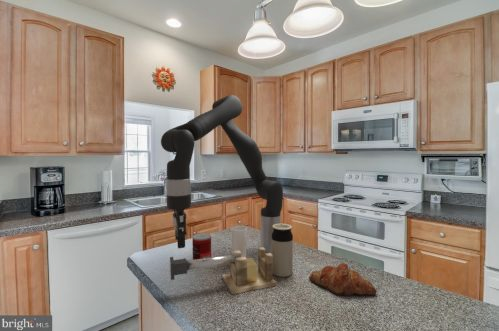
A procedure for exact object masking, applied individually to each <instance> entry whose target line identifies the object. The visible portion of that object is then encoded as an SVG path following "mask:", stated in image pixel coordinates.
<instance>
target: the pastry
mask: <svg viewBox="0 0 499 331" xmlns="http://www.w3.org/2000/svg"><path fill="white" fill-rule="evenodd" d="M308 279H309V281H311V282H312V283H314V284H316V285H319V286H320V287H322V288H325V289H327V290H329V291H331V292H332V293H334V294H336V295H338V296H354V295H357V296H375V295H376V294H377V289H376V288H375V287H374V285H373V284H372V282H371V281H370V280H368V279H366V278H363V277H362V276H361V274H360V273H359V272H358V271H356V270H352V269H350V268H349V266H348V264H347V263H344V262H341V263H339V264H338V266H332V265H326V266H324V267H323V268H322V269H319V270H313V271H312V272H311V273H310V275H309V276H308Z"/></svg>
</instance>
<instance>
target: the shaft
mask: <svg viewBox="0 0 499 331" xmlns="http://www.w3.org/2000/svg"><path fill="white" fill-rule="evenodd" d="M235 258H240V254H239V253H238V254H231V255H230V254H226V255H218V256H211V257H210V258H203V259H196V260H193V259H191V260H187V258H179V259H174V257H173V256H170V257H169V276H170V281H174V280H175V276H179V275H181V276H182V275H187V274H188V272H189V271H195V270H200V269H201V270H202V269H207V268H212V267H213V268H214V267H220V266H226V265H227V266H228V265H230V264H233V263H235Z"/></svg>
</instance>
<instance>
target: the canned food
mask: <svg viewBox="0 0 499 331" xmlns="http://www.w3.org/2000/svg"><path fill="white" fill-rule="evenodd" d="M191 240H192V243H191V244H192V260H196V259H203V258H210V257H212V235H211V234H210V233H207V232H205V233H204V232H202V233H197V234H194V235H193V236H192V239H191Z"/></svg>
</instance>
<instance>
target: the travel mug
mask: <svg viewBox="0 0 499 331" xmlns="http://www.w3.org/2000/svg"><path fill="white" fill-rule="evenodd" d="M272 227H273V233H272V255H273V276H277V277H281V278H286V277H290V276H292V274H293V271H294V269H293V266H294V265H293V261H294V258H293V253H294V252H293V248H294V243H293V242H294V238H293V237H294V236H293V233H292V229H293V226H292V225H291V224H288V223H280V224H274V225H273V226H272Z"/></svg>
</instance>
